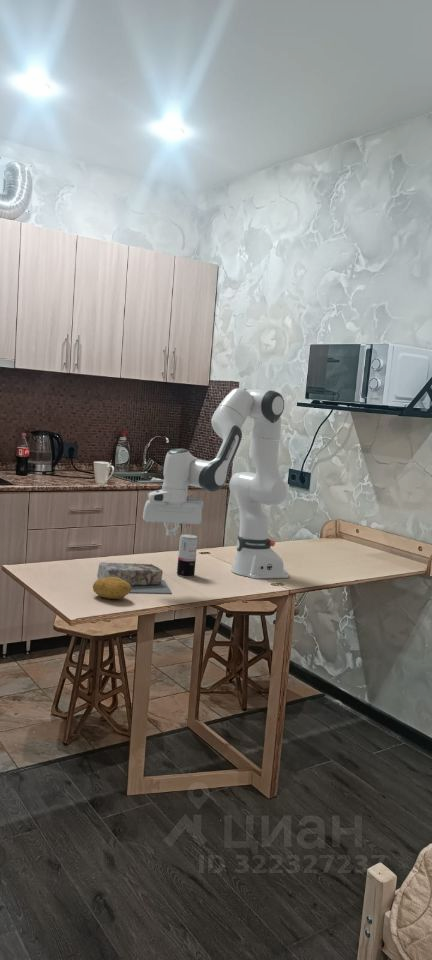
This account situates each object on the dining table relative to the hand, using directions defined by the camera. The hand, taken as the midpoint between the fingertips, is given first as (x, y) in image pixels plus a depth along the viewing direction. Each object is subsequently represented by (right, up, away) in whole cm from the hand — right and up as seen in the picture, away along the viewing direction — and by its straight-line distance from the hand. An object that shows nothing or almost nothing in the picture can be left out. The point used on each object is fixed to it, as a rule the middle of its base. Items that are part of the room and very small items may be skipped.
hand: (170, 535), depth 244 cm
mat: (-10, -18, 0) cm, 20 cm away
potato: (-18, -19, -16) cm, 31 cm away
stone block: (-5, -14, +8) cm, 17 cm away
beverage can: (+4, -17, +21) cm, 27 cm away
